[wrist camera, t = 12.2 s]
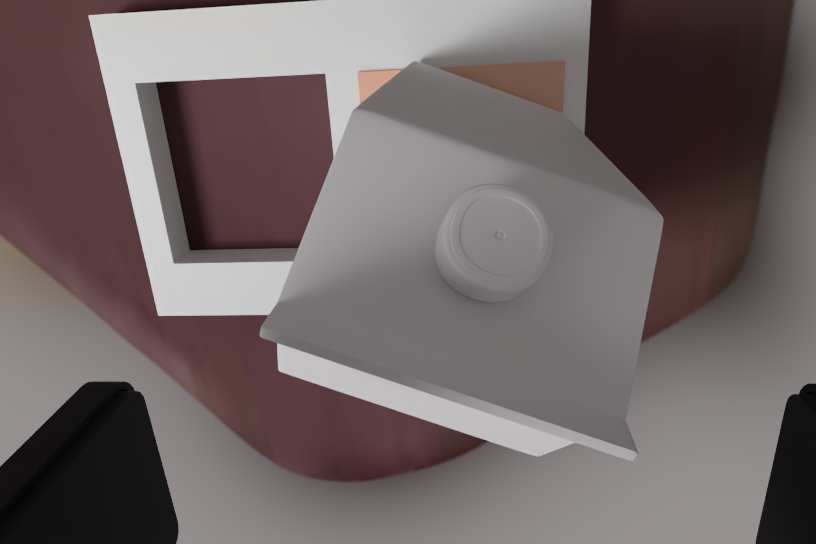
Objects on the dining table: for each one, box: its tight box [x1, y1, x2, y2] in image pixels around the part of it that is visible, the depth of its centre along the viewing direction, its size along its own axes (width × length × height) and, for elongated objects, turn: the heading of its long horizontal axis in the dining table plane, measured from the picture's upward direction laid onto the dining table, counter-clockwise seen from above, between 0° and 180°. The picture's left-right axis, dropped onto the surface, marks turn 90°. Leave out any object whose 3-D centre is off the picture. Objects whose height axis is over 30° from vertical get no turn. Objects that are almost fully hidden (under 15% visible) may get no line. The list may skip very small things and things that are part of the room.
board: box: [88, 0, 591, 316], centre depth 30 cm, size 22×15×2 cm
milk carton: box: [260, 61, 664, 461], centre depth 20 cm, size 7×7×19 cm
